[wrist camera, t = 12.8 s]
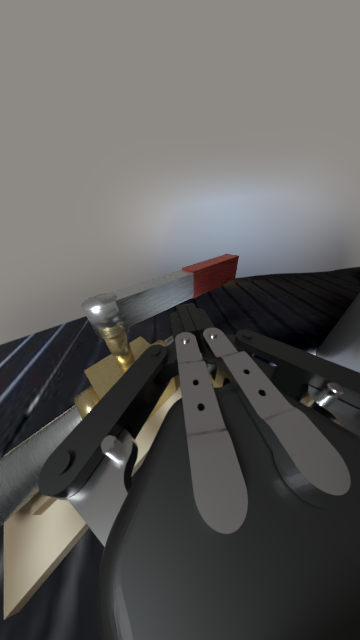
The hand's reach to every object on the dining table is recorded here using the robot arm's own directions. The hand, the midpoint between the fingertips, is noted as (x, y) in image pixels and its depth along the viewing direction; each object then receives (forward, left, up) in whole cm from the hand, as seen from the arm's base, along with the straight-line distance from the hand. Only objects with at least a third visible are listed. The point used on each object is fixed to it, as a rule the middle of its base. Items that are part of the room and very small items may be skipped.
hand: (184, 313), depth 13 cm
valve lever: (-3, -5, -2) cm, 6 cm away
